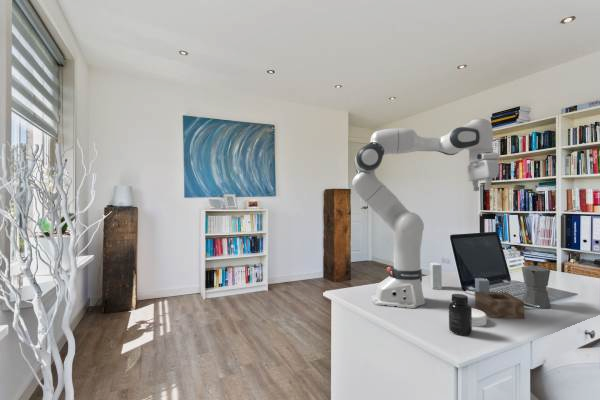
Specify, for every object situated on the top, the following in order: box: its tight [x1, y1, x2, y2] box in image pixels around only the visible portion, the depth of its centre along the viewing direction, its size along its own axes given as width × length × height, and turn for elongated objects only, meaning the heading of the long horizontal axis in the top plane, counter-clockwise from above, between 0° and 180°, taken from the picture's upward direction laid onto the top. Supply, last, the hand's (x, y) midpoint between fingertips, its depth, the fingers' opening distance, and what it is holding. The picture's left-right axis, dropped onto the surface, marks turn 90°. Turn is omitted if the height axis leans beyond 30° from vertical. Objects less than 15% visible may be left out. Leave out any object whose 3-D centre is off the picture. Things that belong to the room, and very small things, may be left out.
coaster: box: [471, 307, 488, 327], centre depth 110 cm, size 10×10×4 cm
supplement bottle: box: [448, 293, 473, 336], centre depth 101 cm, size 7×7×12 cm
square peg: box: [474, 277, 490, 293], centre depth 132 cm, size 4×4×9 cm
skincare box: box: [429, 262, 443, 290], centre depth 152 cm, size 6×4×12 cm
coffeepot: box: [521, 260, 552, 310], centre depth 126 cm, size 15×9×18 cm, turn 136°
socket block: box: [474, 291, 526, 319], centre depth 118 cm, size 12×12×6 cm
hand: (481, 190), depth 129 cm, fingers open, 8 cm apart
